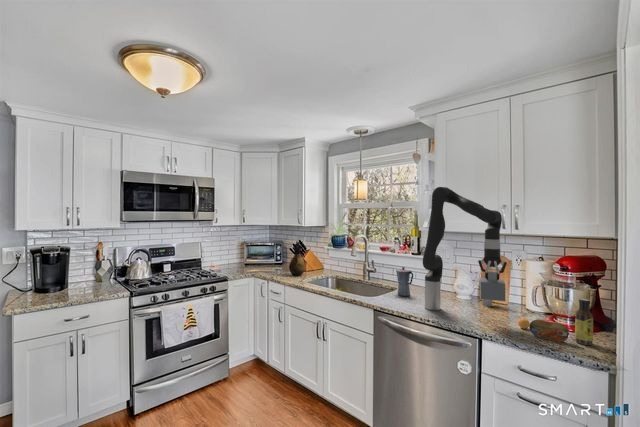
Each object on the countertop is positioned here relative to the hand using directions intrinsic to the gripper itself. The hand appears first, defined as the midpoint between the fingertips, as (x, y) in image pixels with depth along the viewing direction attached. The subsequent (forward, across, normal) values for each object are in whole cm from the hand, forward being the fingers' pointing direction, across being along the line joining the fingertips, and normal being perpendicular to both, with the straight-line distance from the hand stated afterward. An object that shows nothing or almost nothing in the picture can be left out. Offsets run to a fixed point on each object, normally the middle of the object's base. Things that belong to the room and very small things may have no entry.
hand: (492, 279), depth 168 cm
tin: (+24, +23, -10) cm, 35 cm away
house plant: (+24, 0, +41) cm, 47 cm away
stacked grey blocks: (+9, 0, 0) cm, 9 cm away
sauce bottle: (+24, +36, -9) cm, 45 cm away
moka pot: (+23, -54, +41) cm, 71 cm away
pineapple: (+22, -158, +68) cm, 174 cm away
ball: (+21, +14, +1) cm, 26 cm away
